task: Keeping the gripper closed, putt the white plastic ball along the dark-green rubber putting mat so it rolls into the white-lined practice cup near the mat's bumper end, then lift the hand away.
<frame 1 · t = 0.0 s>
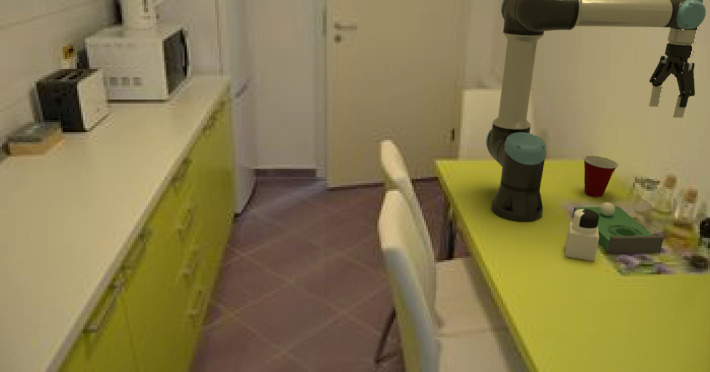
hand: (665, 111, 182), 28 cm above the table, fingers open, 13 cm apart
mat: (612, 232, 164), on the table
medicine bottle: (579, 253, 152), on the table
plastic cup: (594, 194, 191), on the table
ball: (607, 209, 167), point 5 cm above the table, touching mat
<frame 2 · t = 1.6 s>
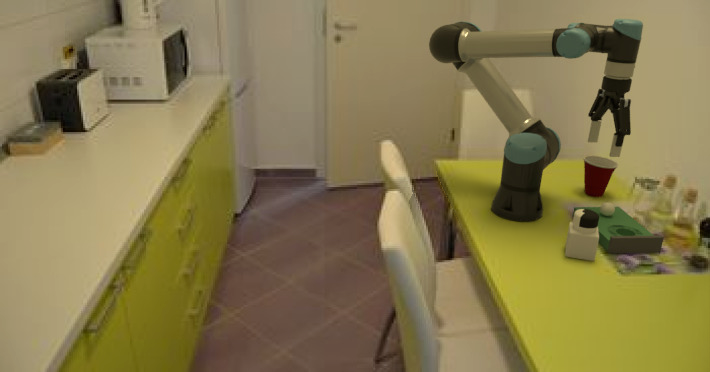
hand: (603, 149, 169), 20 cm above the table, fingers open, 12 cm apart
nothing on the table moved.
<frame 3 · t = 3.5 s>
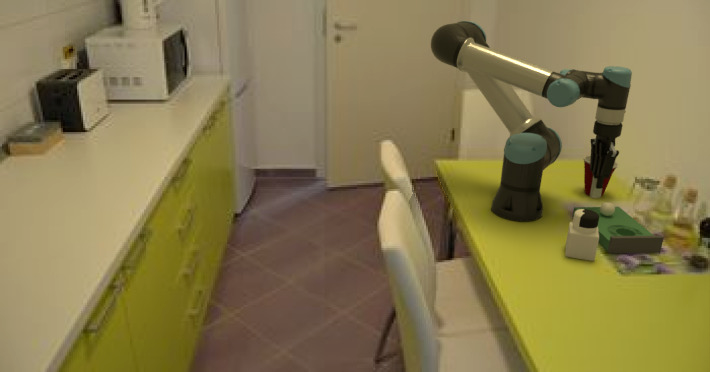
hand: (595, 196, 174), 5 cm above the table, fingers closed
nothing on the table moved.
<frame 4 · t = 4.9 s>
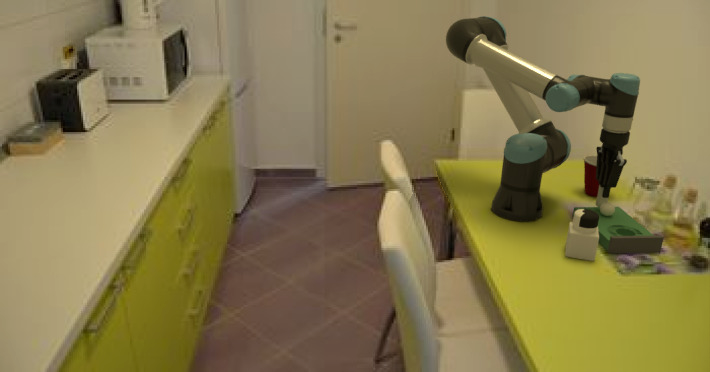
hand: (601, 206, 171), 4 cm above the table, fingers closed
nothing on the table moved.
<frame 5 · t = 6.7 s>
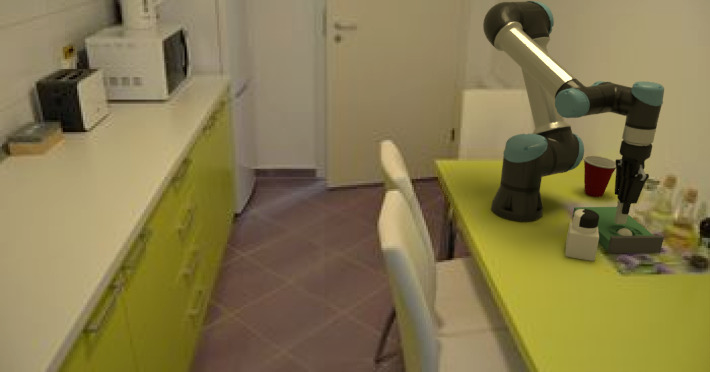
hand: (620, 222, 160), 4 cm above the table, fingers closed
ball: (624, 235, 157), point 2 cm above the table, tilted 41°, touching mat
everything else where it was.
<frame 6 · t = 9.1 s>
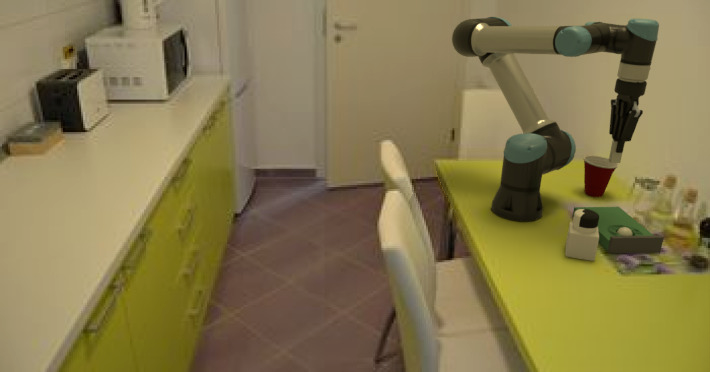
hand: (614, 162, 162), 19 cm above the table, fingers closed
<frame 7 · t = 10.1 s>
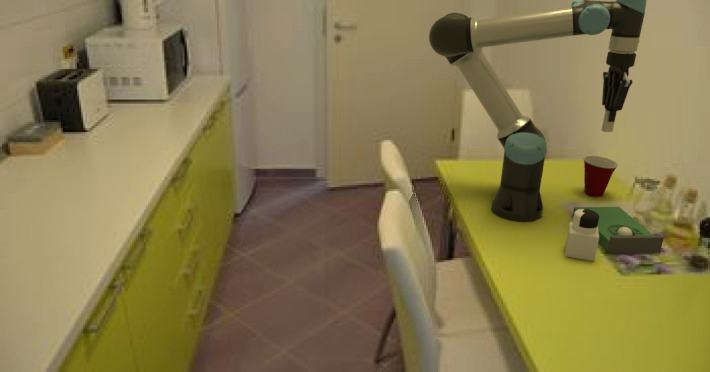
hand: (607, 131, 172), 24 cm above the table, fingers closed
nothing on the table moved.
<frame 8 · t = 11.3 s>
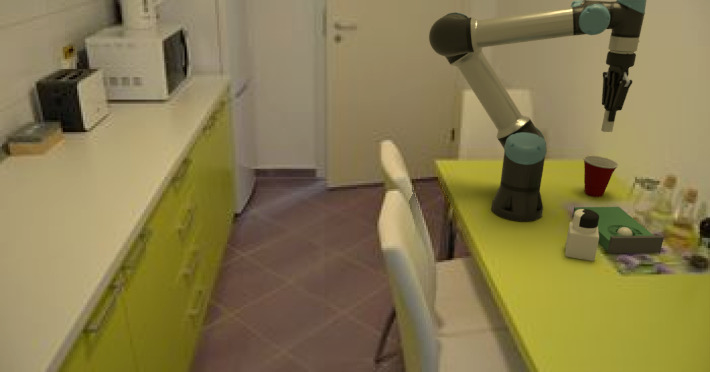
hand: (606, 131, 173), 24 cm above the table, fingers closed
nothing on the table moved.
at the end: ball 0.3 cm from the target spot in the mat, point 2.2 cm above the mat's base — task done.
